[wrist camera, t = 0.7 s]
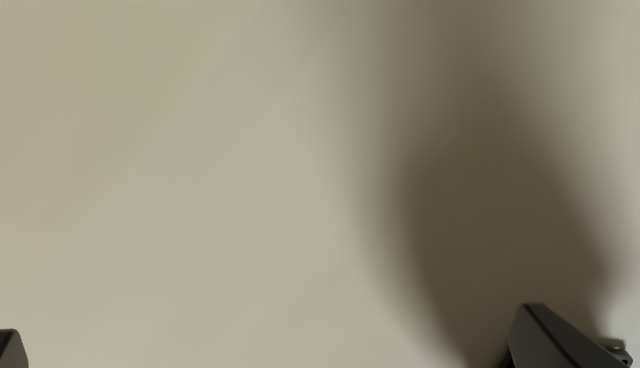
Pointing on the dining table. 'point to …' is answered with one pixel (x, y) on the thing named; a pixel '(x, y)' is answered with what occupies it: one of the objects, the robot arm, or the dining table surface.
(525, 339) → the robot arm
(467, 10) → the dining table surface
